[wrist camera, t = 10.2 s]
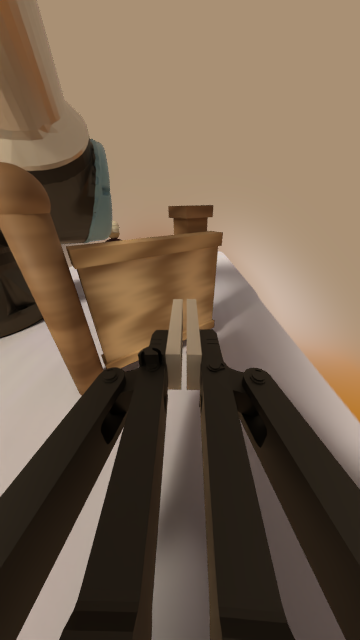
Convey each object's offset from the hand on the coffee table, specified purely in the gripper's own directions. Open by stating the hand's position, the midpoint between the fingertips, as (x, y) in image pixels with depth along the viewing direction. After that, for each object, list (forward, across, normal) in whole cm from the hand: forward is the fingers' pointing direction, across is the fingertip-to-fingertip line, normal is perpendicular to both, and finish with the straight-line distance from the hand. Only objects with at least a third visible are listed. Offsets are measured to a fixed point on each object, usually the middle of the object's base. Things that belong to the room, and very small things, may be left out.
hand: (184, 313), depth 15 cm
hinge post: (-2, -9, -7) cm, 12 cm away
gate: (+3, -2, -6) cm, 7 cm away
